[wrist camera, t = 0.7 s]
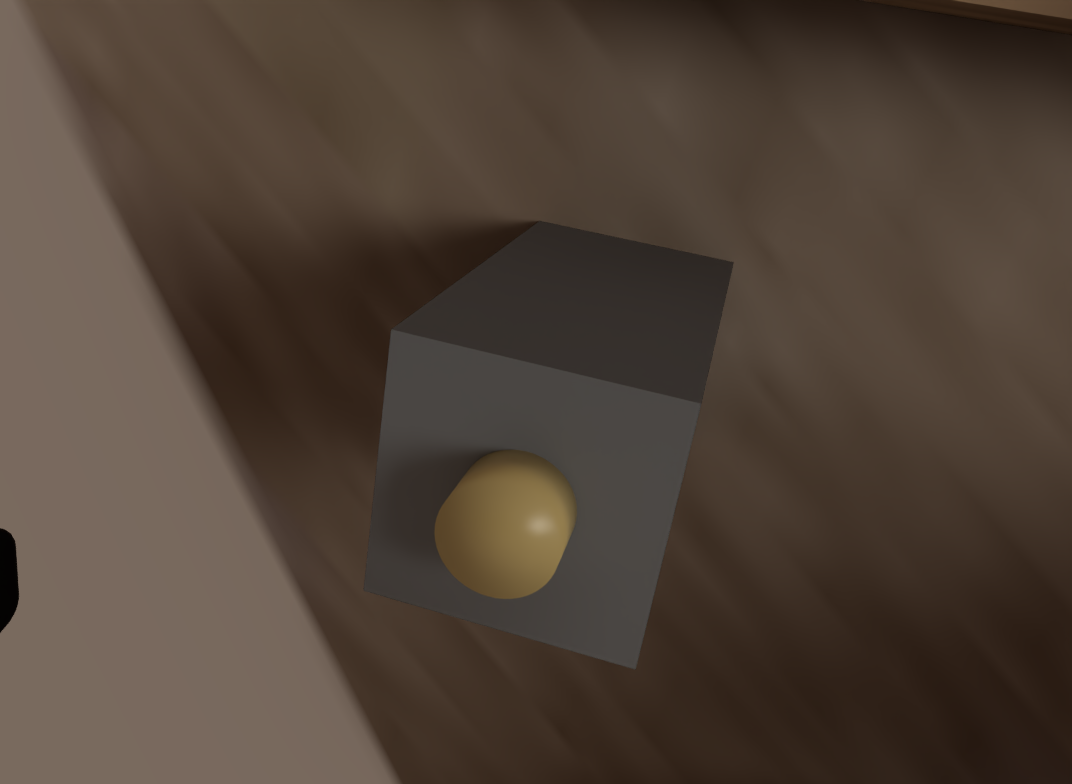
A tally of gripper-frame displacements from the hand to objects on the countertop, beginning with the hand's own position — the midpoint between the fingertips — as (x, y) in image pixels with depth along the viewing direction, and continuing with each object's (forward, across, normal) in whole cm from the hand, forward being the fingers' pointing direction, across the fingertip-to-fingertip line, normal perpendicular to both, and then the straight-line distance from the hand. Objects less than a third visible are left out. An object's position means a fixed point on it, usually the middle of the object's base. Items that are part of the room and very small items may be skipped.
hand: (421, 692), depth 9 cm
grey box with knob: (+12, 0, 0) cm, 12 cm away
